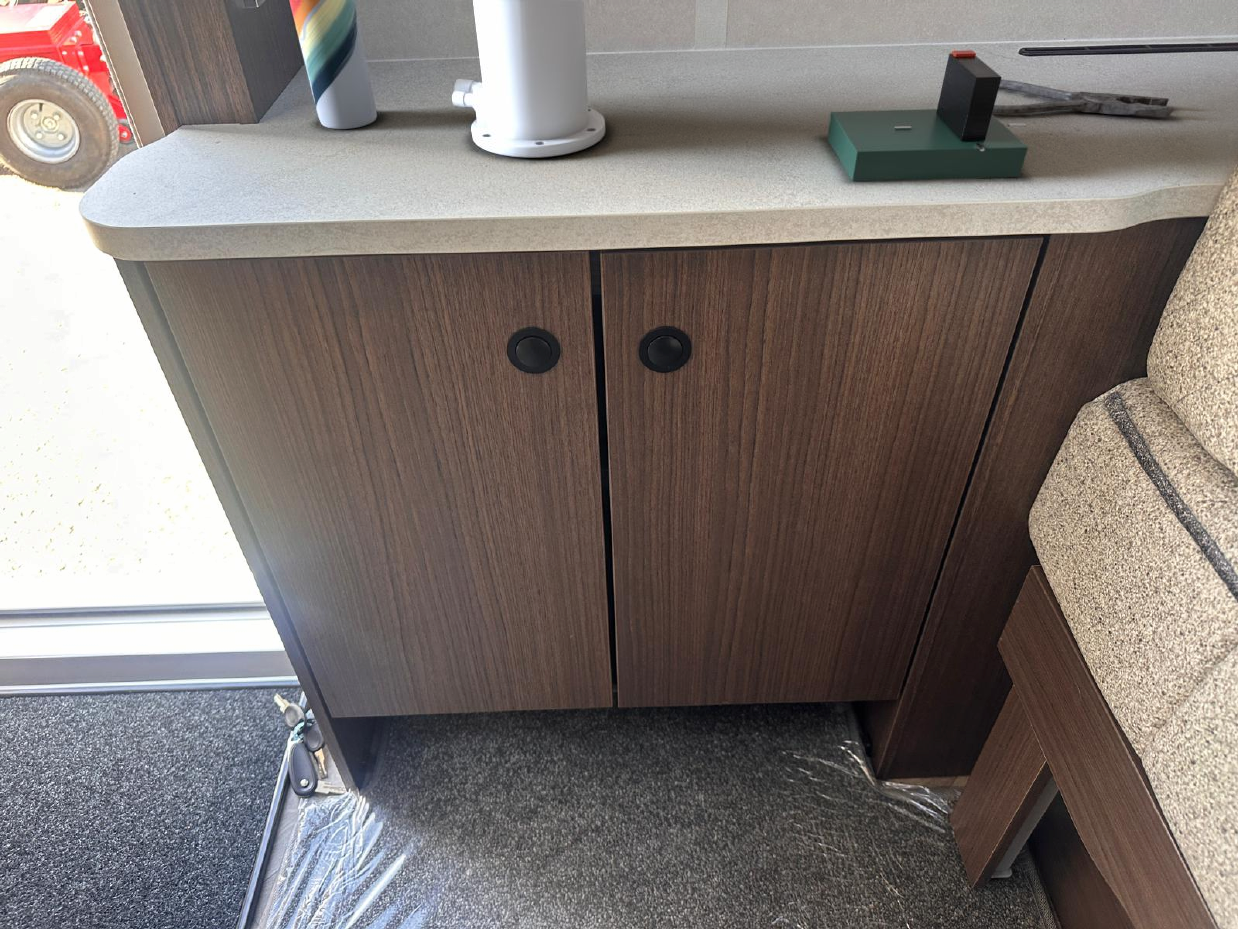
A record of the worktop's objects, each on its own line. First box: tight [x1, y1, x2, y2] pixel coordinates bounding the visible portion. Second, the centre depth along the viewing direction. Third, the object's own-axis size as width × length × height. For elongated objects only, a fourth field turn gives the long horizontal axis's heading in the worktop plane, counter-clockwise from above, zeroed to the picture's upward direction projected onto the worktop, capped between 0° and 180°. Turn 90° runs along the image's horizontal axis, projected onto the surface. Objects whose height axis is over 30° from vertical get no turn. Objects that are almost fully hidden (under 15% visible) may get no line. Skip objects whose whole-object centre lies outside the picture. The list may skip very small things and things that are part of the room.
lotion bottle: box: [289, 0, 378, 130], centre depth 77 cm, size 6×6×20 cm
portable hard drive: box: [936, 49, 1002, 141], centre depth 70 cm, size 7×2×5 cm, turn 1°
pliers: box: [992, 78, 1174, 118], centre depth 84 cm, size 10×1×20 cm
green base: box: [826, 105, 1029, 182], centre depth 72 cm, size 16×11×3 cm
